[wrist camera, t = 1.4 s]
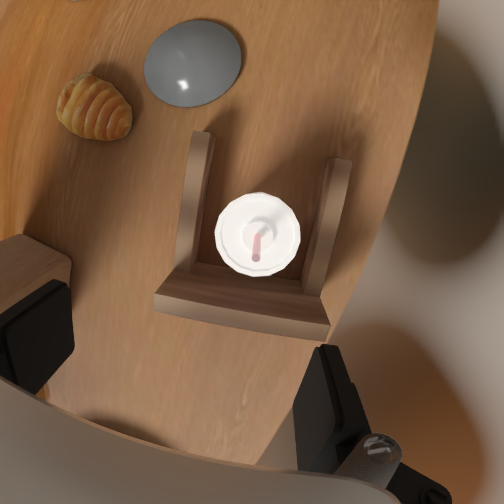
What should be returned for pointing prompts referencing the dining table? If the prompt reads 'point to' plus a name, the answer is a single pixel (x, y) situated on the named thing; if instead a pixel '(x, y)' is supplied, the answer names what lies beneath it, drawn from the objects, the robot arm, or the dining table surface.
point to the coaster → (193, 63)
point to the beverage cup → (257, 234)
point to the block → (28, 268)
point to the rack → (244, 286)
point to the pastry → (94, 109)
